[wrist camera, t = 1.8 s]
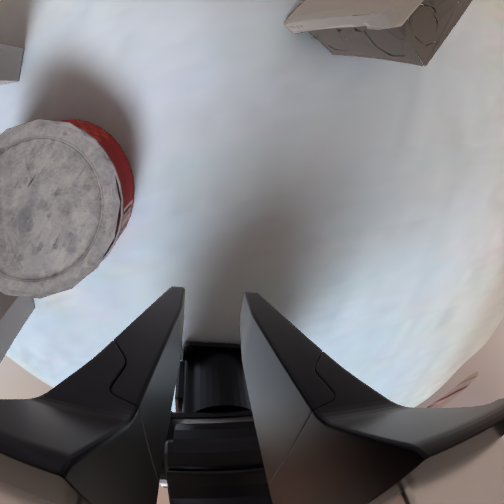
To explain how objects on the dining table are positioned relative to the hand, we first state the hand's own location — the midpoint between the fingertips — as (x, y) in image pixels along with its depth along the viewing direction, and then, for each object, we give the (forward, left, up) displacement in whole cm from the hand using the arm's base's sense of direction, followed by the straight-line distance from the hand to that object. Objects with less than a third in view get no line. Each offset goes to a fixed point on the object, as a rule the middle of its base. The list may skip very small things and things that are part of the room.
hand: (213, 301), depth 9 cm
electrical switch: (-7, -15, -11) cm, 20 cm away
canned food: (+10, 0, -11) cm, 15 cm away
